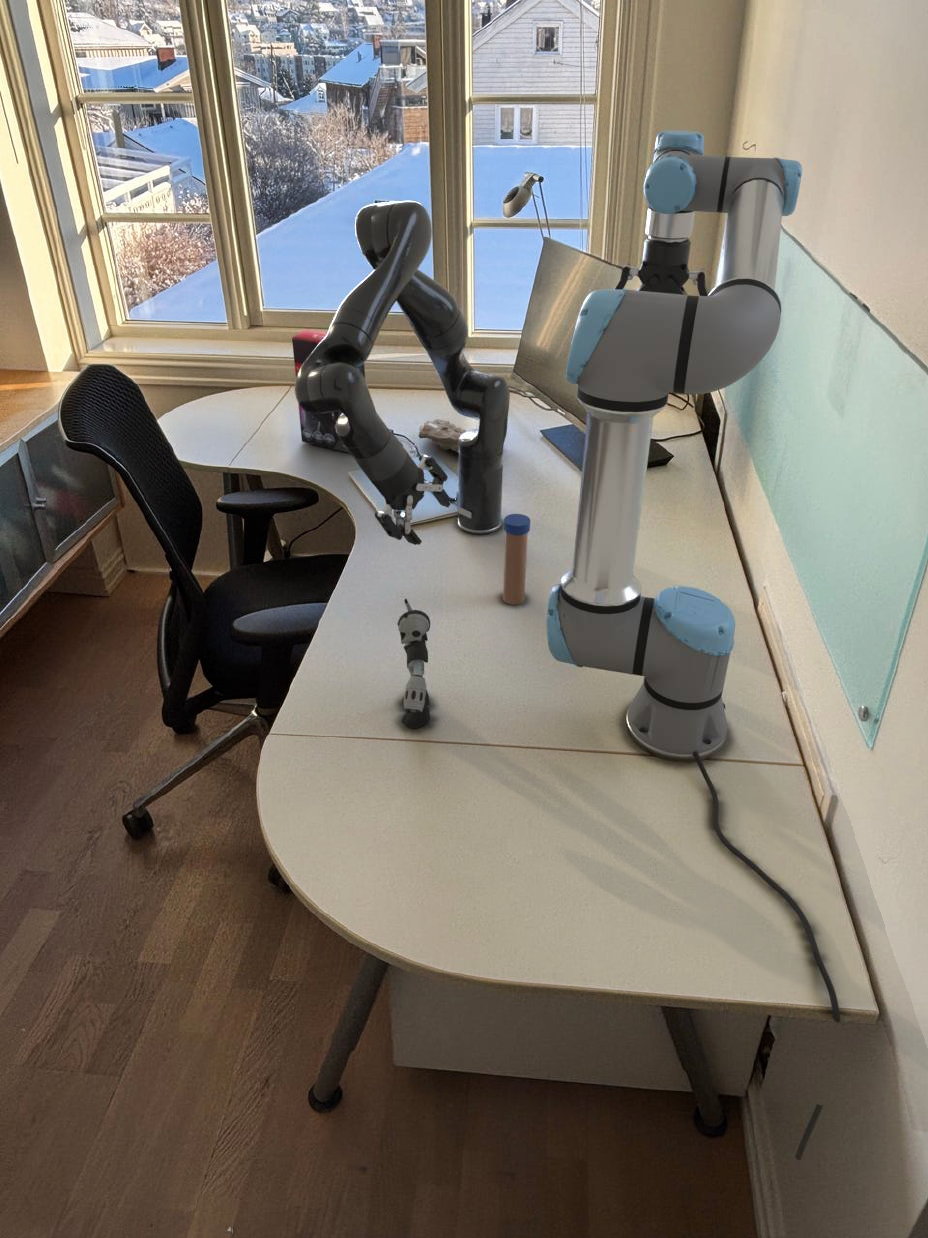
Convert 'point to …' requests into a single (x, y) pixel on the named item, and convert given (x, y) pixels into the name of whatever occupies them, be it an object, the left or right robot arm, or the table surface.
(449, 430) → the stone
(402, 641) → the robot
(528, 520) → the lid
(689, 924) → the table surface
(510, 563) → the jar
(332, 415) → the graphics card box
